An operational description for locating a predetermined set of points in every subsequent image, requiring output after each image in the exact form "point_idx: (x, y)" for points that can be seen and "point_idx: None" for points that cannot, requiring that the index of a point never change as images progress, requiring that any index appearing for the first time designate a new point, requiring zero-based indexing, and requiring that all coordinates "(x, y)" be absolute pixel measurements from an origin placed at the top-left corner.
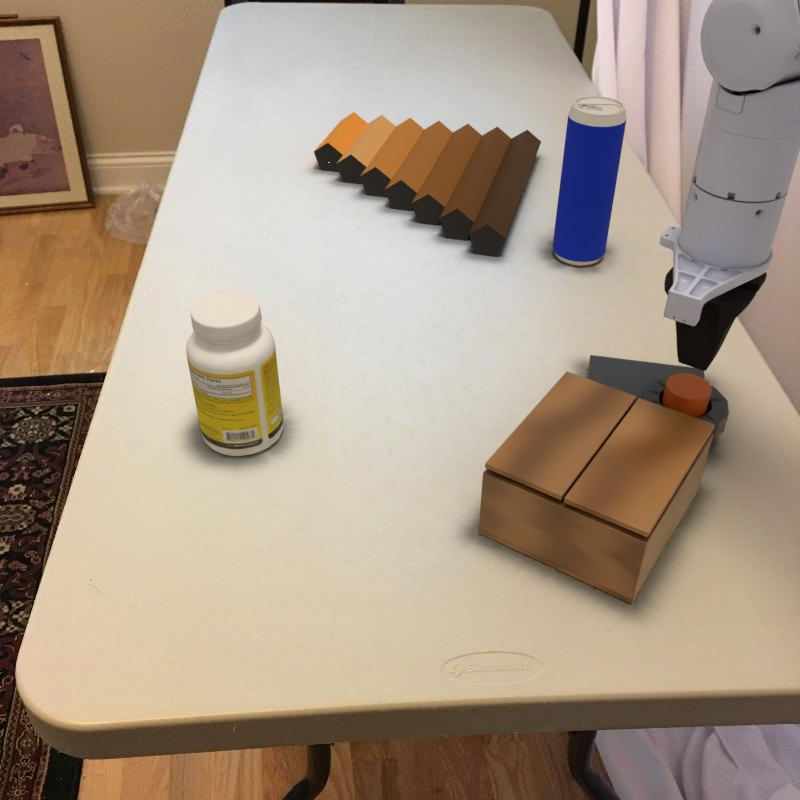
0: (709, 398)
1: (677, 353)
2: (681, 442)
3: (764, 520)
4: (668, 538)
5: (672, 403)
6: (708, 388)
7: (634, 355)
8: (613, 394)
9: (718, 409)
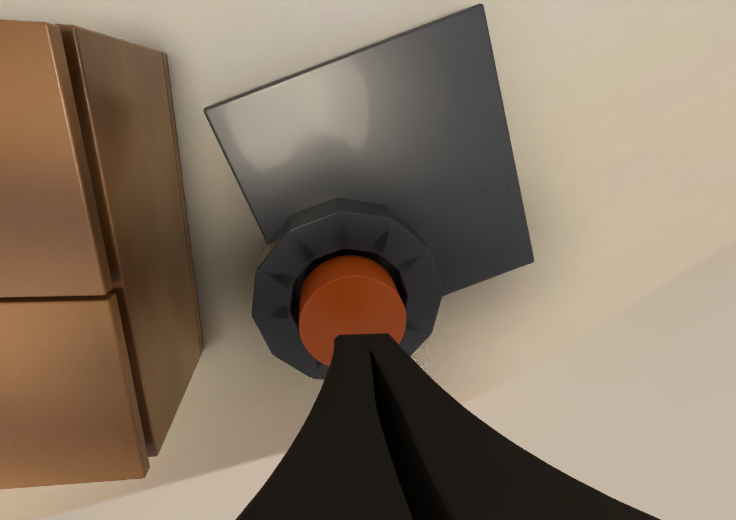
0: None
1: (336, 345)
2: (7, 453)
3: (214, 438)
4: None
5: (301, 298)
6: None
7: (560, 97)
8: (57, 233)
9: None
